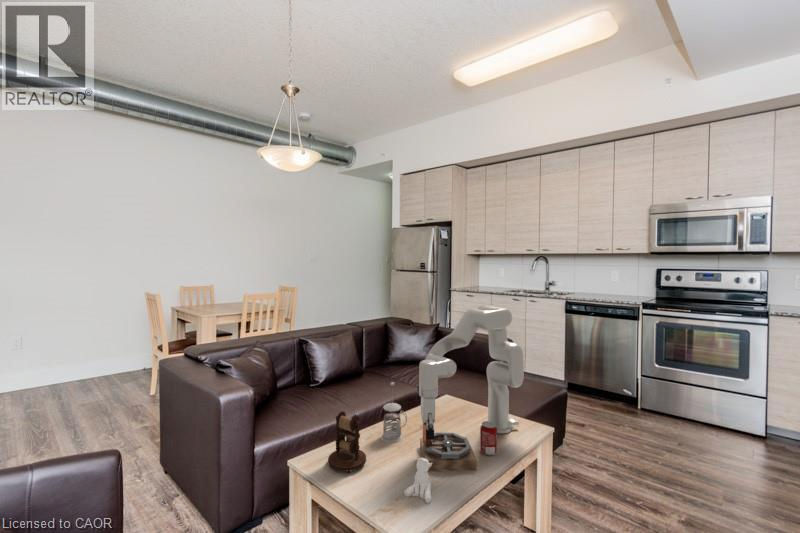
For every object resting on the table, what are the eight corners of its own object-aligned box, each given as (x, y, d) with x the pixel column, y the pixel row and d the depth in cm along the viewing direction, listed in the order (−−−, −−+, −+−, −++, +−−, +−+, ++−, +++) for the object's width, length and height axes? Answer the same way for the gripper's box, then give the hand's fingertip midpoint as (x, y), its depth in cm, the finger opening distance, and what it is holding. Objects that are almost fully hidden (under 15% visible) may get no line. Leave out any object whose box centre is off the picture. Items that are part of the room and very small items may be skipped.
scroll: (373, 460, 151) (373, 411, 151) (350, 479, 138) (350, 425, 138) (344, 450, 159) (344, 403, 158) (320, 467, 146) (320, 416, 145)
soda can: (496, 457, 154) (497, 428, 154) (479, 455, 156) (480, 426, 155) (496, 449, 161) (496, 421, 161) (479, 447, 162) (480, 419, 162)
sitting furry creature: (403, 496, 129) (403, 461, 129) (412, 482, 137) (413, 450, 136) (429, 504, 125) (430, 468, 125) (437, 489, 133) (438, 456, 133)
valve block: (466, 446, 163) (466, 436, 163) (477, 470, 145) (477, 459, 145) (420, 447, 162) (420, 437, 162) (425, 471, 144) (425, 460, 144)
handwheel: (465, 437, 162) (465, 416, 162) (473, 459, 145) (473, 436, 144) (421, 436, 162) (421, 416, 162) (424, 459, 145) (424, 435, 144)
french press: (384, 431, 176) (384, 377, 176) (408, 433, 174) (409, 379, 173) (378, 441, 167) (379, 385, 166) (404, 444, 165) (405, 387, 164)
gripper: (417, 384, 161) (417, 423, 162) (421, 400, 144) (421, 444, 144) (434, 383, 161) (434, 423, 162) (441, 399, 144) (441, 443, 145)
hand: (428, 433), depth 153 cm, fingers open, 9 cm apart
